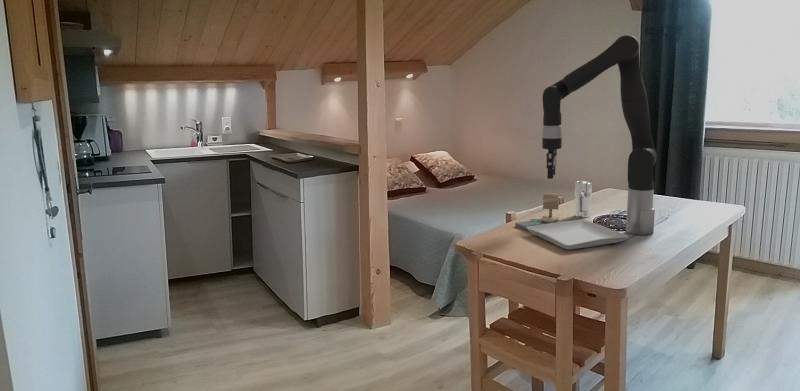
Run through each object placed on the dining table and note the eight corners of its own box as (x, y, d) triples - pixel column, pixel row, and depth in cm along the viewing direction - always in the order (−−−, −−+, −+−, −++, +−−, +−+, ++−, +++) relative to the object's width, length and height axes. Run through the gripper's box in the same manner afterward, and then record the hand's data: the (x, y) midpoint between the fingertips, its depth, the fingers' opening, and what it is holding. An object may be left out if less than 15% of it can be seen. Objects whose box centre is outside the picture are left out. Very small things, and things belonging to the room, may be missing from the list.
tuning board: (570, 227, 254) (570, 223, 254) (534, 233, 246) (534, 229, 246) (549, 220, 265) (549, 217, 265) (515, 226, 257) (515, 222, 257)
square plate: (524, 235, 245) (524, 226, 244) (583, 227, 254) (583, 218, 253) (566, 254, 220) (566, 243, 219) (629, 245, 229) (630, 234, 228)
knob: (557, 223, 253) (558, 196, 251) (529, 222, 256) (530, 194, 254) (559, 220, 259) (559, 192, 256) (531, 218, 262) (532, 191, 260)
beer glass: (588, 214, 274) (590, 180, 271) (592, 217, 268) (593, 183, 265) (572, 214, 275) (573, 180, 272) (575, 217, 268) (576, 183, 265)
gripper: (560, 138, 242) (559, 180, 245) (563, 134, 255) (562, 174, 258) (540, 138, 244) (539, 179, 248) (544, 134, 258) (543, 173, 261)
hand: (551, 176), depth 253 cm, fingers open, 8 cm apart
